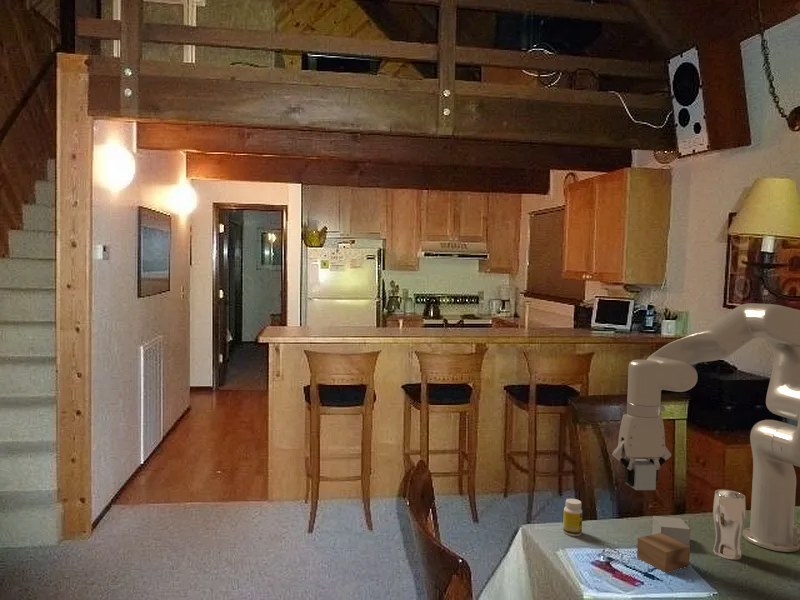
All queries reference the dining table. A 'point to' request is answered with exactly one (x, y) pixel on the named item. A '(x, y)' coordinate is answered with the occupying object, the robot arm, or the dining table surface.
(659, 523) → the grey block
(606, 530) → the dining table surface
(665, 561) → the walnut block
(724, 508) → the beer glass
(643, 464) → the painted block
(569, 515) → the supplement bottle
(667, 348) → the robot arm
